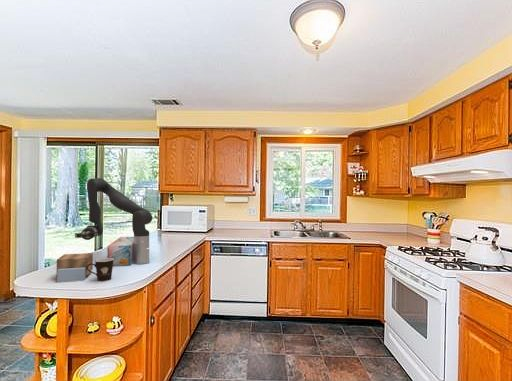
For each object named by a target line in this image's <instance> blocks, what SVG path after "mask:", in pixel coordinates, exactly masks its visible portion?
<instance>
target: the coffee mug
mask: <svg viewBox="0 0 512 381" xmlns="http://www.w3.org/2000/svg"><path fill="white" fill-rule="evenodd" d="M113 261H114V259H112V258H107V257H104V258H97V259H96V260H95V261H94V262H95V263H94V262H93V263H91V264H89V265H93V267H95V271H96V272H93V271H92V270H91V271H90V270H89V269H88V266H89V265H87V270H88V271H89V272H90V273H91V274H94V275H95V276H96V277H97V278H96V279H97V281H98V282H106V281H110V280H112V274H113V267H114V266H113Z"/></svg>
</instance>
